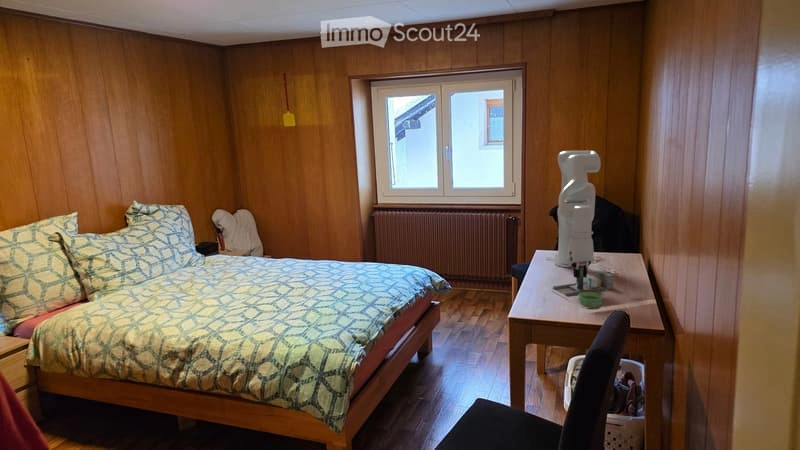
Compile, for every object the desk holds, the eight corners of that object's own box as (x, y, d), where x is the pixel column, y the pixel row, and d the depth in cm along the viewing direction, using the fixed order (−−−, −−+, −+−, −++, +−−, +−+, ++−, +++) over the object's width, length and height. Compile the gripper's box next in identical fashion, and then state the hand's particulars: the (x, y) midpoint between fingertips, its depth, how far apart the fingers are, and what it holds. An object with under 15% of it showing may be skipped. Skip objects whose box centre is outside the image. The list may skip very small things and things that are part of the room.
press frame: (551, 291, 215) (552, 274, 214) (598, 285, 221) (599, 268, 220) (567, 300, 204) (568, 282, 202) (617, 293, 210) (618, 276, 209)
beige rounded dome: (589, 286, 215) (589, 279, 215) (597, 285, 216) (597, 278, 216) (595, 289, 211) (595, 282, 211) (603, 288, 212) (603, 280, 212)
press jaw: (568, 287, 214) (569, 261, 212) (586, 284, 216) (587, 259, 214) (578, 292, 207) (579, 265, 205) (596, 289, 210) (598, 263, 208)
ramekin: (574, 303, 200) (574, 292, 199) (595, 301, 201) (596, 291, 200) (584, 311, 192) (584, 300, 191) (606, 309, 192) (607, 298, 191)
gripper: (592, 231, 213) (590, 272, 216) (559, 234, 209) (558, 276, 212) (604, 235, 206) (602, 277, 209) (570, 238, 201) (568, 281, 205)
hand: (580, 276), depth 211 cm, fingers closed on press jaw, 2 cm apart
